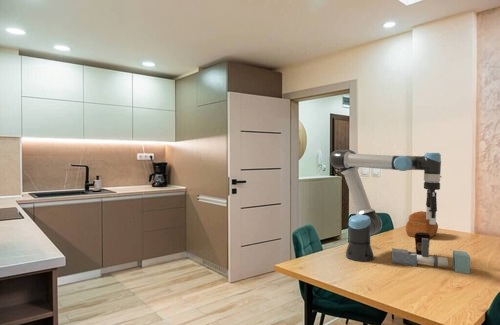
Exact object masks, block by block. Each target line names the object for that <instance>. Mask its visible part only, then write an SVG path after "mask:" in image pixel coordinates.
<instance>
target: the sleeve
mask: <svg viewBox="0 0 500 325" xmlns="http://www.w3.org/2000/svg"><path fill="white" fill-rule="evenodd" d="M411 254H415V255H411ZM391 264H393V265H400V266H401V265H402V266H408V267H409V266H410V267H418V263H417V255H416V251H409V250H408V249H402V248H391Z"/></svg>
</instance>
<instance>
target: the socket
mask: <svg viewBox="0 0 500 325" xmlns="http://www.w3.org/2000/svg"><path fill="white" fill-rule="evenodd" d="M452 269H453V271H454V273H457V274H458V273H460V274H465V275H466V274H468V275H470V274H471V256H470V255H469V253H468V252H467V251H463V250H452Z"/></svg>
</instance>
